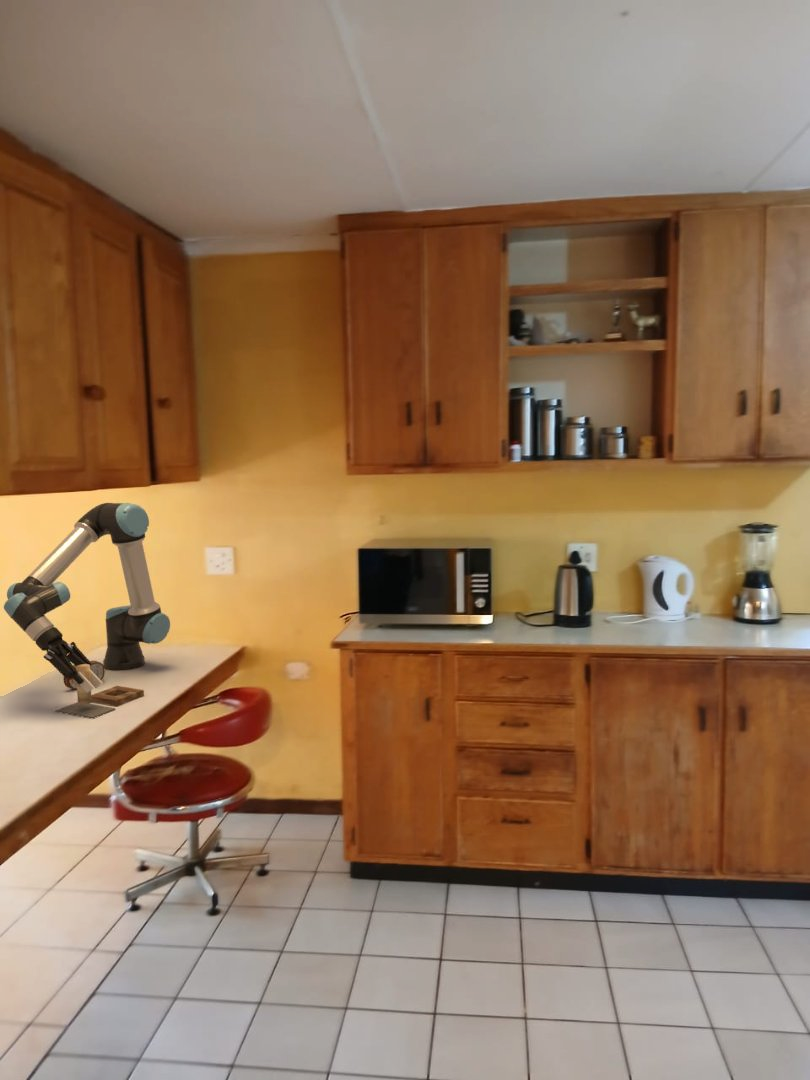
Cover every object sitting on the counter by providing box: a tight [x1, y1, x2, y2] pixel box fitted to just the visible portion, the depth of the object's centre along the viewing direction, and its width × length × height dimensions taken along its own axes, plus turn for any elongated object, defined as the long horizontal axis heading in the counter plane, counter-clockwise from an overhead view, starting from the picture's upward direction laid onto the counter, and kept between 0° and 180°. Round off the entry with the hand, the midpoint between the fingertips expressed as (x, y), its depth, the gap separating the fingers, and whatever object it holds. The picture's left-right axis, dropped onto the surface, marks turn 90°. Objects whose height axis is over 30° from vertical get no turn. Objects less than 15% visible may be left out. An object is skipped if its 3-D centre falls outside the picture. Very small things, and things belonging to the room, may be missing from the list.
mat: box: [55, 701, 116, 719], centre depth 232 cm, size 9×16×1 cm, turn 66°
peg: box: [76, 664, 92, 705], centre depth 231 cm, size 4×4×12 cm
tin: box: [63, 660, 106, 690], centre depth 258 cm, size 15×3×8 cm, turn 149°
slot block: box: [91, 685, 145, 708], centre depth 244 cm, size 12×12×2 cm
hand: (94, 687), depth 231 cm, fingers closed on peg, 4 cm apart
